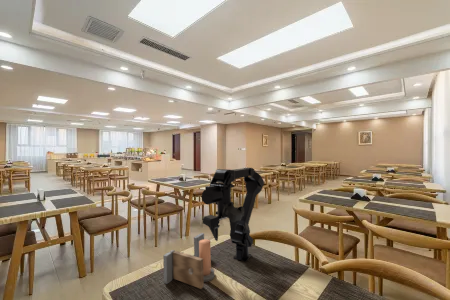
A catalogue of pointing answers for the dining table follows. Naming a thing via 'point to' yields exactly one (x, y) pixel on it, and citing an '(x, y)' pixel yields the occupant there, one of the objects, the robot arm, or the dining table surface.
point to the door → (187, 269)
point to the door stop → (206, 259)
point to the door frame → (168, 259)
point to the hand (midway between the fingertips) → (225, 237)
